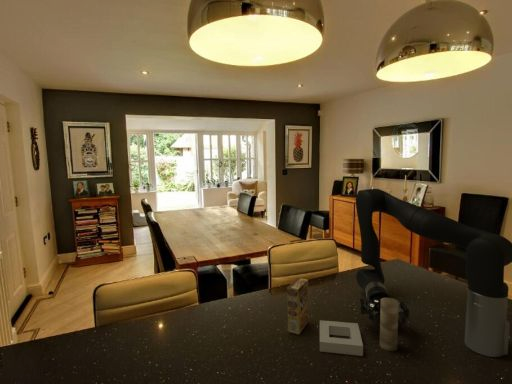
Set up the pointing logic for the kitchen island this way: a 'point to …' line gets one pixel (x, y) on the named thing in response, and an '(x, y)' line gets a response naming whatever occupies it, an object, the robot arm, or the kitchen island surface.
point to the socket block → (340, 344)
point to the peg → (389, 324)
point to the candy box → (297, 305)
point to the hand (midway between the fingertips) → (387, 319)
